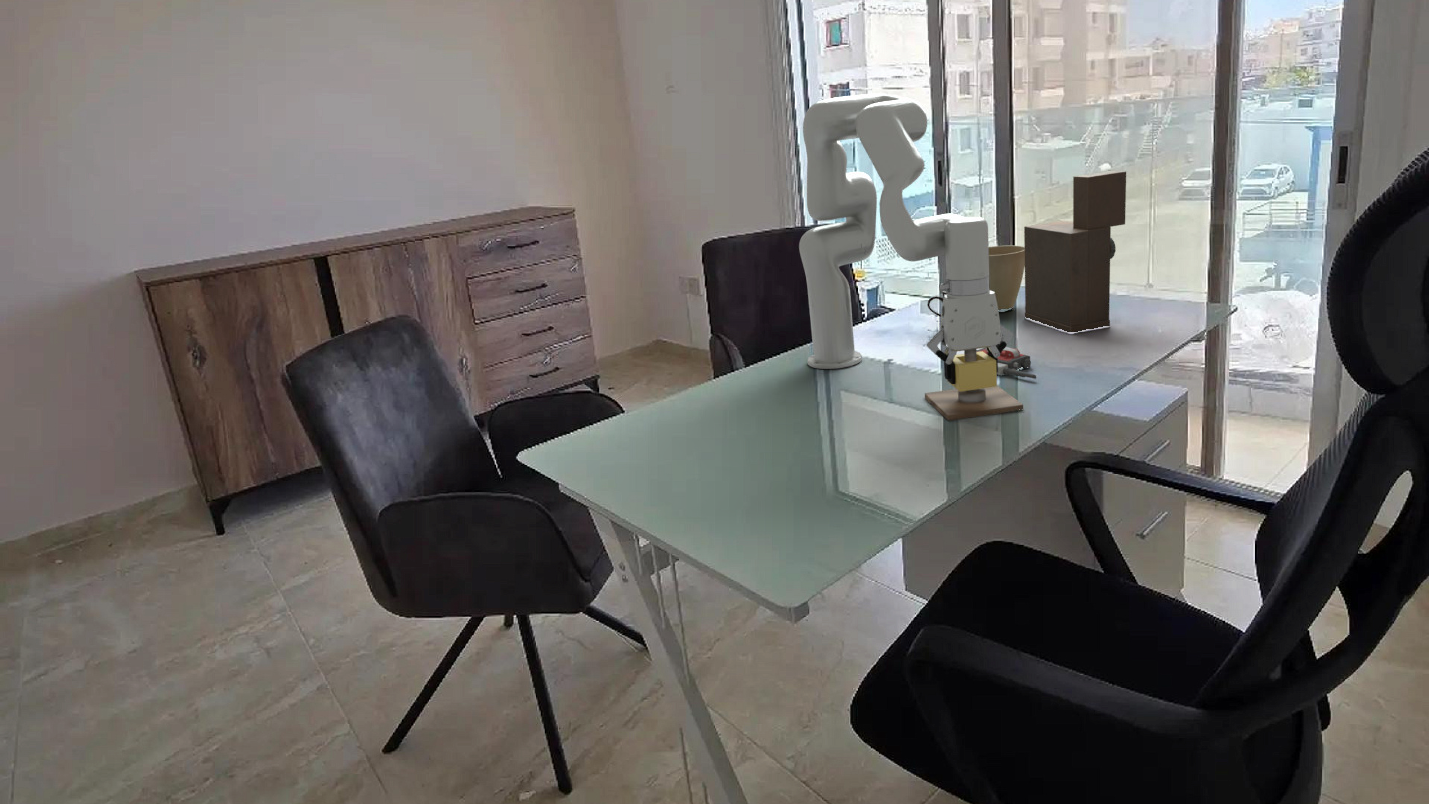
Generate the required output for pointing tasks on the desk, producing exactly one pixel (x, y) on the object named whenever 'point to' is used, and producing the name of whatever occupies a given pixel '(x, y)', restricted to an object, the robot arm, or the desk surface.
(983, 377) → the ring
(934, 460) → the desk surface
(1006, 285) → the plant pot
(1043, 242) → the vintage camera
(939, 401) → the peg board base
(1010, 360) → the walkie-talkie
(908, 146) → the robot arm
